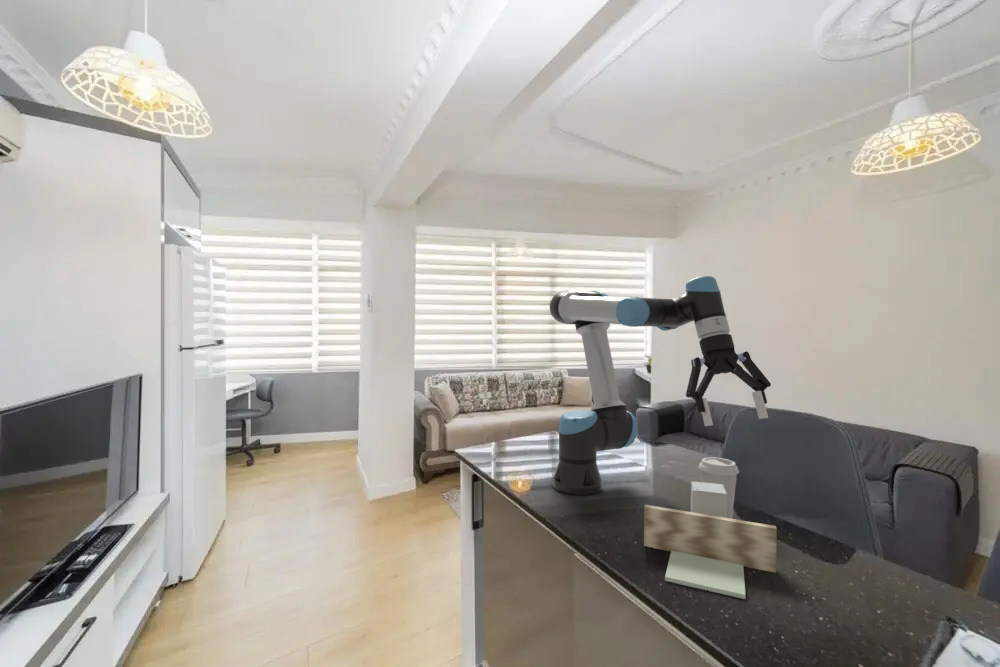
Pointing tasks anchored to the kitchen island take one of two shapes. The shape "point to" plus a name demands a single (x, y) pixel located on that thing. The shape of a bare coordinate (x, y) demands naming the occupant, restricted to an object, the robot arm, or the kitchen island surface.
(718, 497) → the supplement box
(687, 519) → the wooden screen
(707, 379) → the robot arm
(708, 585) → the sage pad
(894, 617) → the kitchen island surface
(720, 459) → the coffee cup
